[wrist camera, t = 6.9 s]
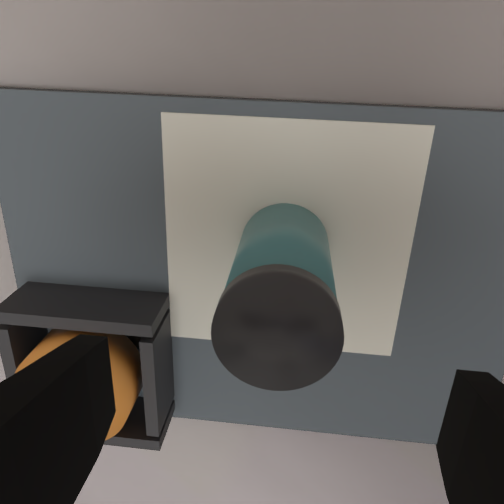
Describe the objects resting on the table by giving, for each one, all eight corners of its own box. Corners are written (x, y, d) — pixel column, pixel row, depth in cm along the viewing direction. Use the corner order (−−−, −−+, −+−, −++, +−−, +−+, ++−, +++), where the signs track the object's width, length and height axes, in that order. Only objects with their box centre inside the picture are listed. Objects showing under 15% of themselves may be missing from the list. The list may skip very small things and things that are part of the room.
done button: (141, 324, 17) (123, 356, 16) (148, 412, 19) (132, 449, 17) (33, 314, 18) (2, 344, 16) (49, 401, 20) (23, 437, 18)
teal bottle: (334, 205, 16) (352, 285, 10) (324, 287, 17) (335, 396, 12) (241, 198, 16) (211, 273, 11) (238, 280, 17) (210, 384, 12)
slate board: (576, 113, 15) (639, 127, 12) (474, 438, 20) (501, 498, 17) (-12, 86, 16) (-76, 93, 13) (47, 393, 22) (10, 442, 19)
